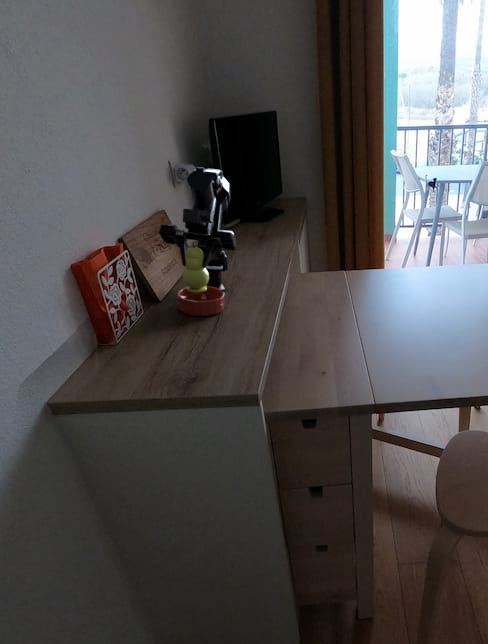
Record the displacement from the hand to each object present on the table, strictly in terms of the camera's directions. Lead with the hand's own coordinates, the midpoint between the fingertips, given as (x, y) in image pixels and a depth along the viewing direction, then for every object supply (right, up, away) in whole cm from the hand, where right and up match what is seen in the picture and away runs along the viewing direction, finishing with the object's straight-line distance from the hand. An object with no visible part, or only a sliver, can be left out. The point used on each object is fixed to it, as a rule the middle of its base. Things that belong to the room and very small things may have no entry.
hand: (193, 266), depth 118 cm
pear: (-1, -5, +5) cm, 7 cm away
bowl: (-1, -10, +10) cm, 14 cm away
